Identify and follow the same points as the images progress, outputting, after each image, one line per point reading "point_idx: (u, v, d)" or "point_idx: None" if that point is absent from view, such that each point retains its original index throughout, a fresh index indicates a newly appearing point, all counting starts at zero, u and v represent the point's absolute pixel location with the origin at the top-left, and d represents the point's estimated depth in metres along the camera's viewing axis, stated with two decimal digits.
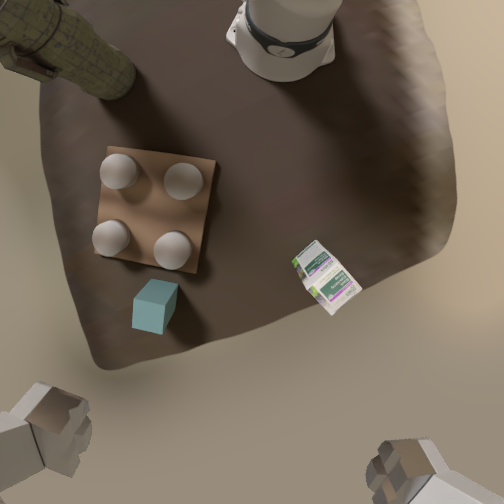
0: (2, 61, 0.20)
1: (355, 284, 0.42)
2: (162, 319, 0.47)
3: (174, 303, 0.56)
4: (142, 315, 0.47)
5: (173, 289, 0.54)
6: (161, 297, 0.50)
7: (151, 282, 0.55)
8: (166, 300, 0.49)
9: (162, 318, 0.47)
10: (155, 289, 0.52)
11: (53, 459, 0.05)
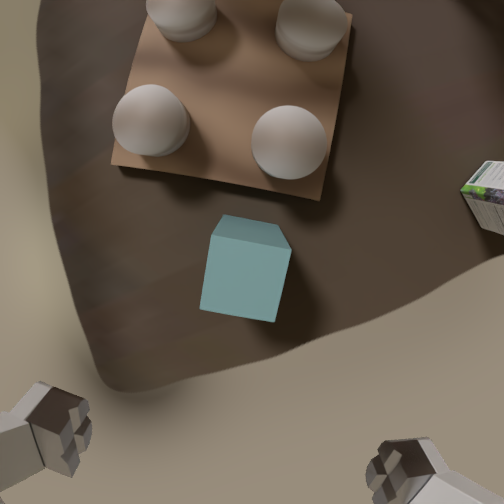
0: None
1: None
2: (280, 285, 0.21)
3: None
4: (230, 278, 0.21)
5: (278, 230, 0.27)
6: (268, 237, 0.23)
7: (228, 218, 0.28)
8: (284, 242, 0.22)
9: (280, 282, 0.21)
10: (245, 226, 0.25)
11: (53, 459, 0.05)
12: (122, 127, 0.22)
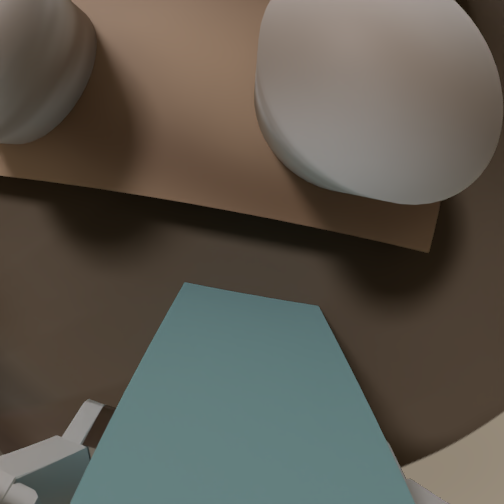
0: None
1: None
2: None
3: None
4: None
5: (330, 343, 0.09)
6: (328, 446, 0.05)
7: (192, 302, 0.10)
8: (391, 478, 0.04)
9: None
10: (236, 359, 0.07)
11: None
12: None
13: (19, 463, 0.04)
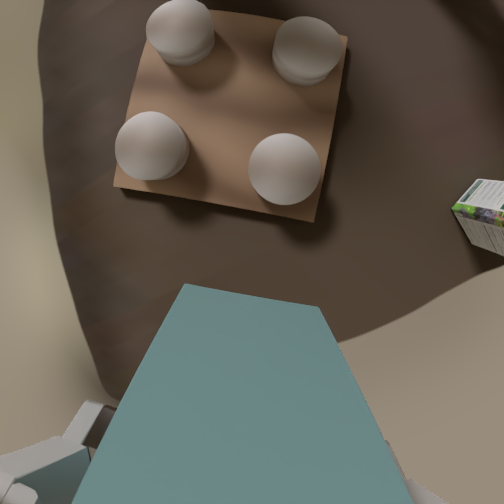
0: None
1: None
2: None
3: None
4: None
5: (330, 344, 0.09)
6: (327, 448, 0.05)
7: (192, 303, 0.10)
8: (390, 479, 0.04)
9: None
10: (236, 360, 0.07)
11: None
12: (124, 153, 0.24)
13: (19, 463, 0.04)
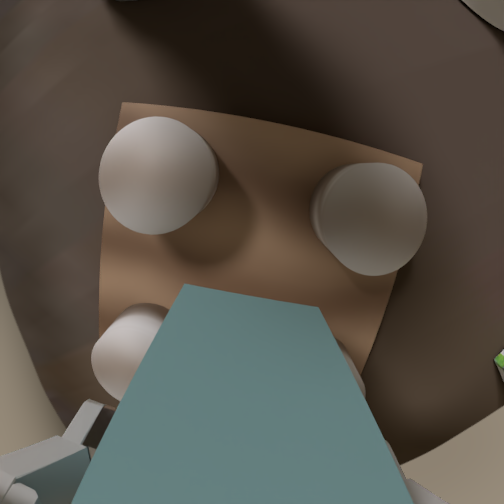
0: None
1: None
2: None
3: None
4: None
5: (330, 345, 0.09)
6: (328, 449, 0.05)
7: (192, 303, 0.10)
8: (390, 480, 0.04)
9: None
10: (236, 361, 0.07)
11: None
12: (107, 376, 0.17)
13: (19, 463, 0.04)
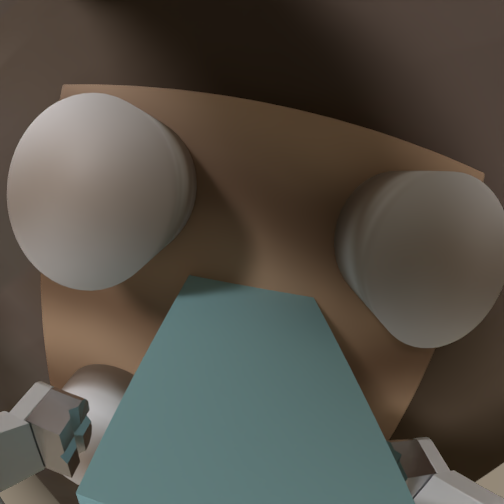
0: None
1: None
2: None
3: None
4: None
5: (324, 329, 0.10)
6: (318, 415, 0.06)
7: (196, 292, 0.11)
8: (376, 443, 0.05)
9: None
10: (238, 341, 0.08)
11: (53, 459, 0.05)
12: None
13: None
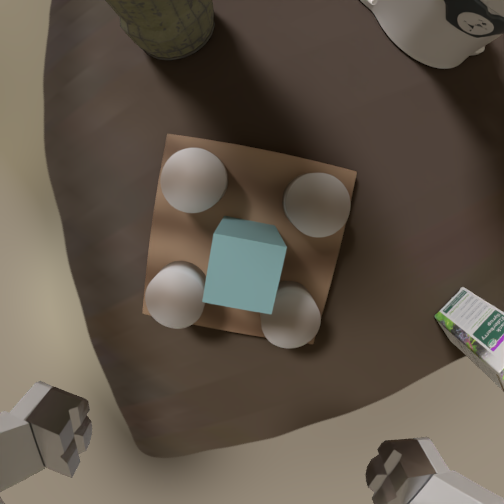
0: None
1: None
2: (276, 280, 0.23)
3: None
4: (231, 273, 0.22)
5: (275, 230, 0.29)
6: (266, 236, 0.25)
7: (228, 218, 0.30)
8: (280, 241, 0.24)
9: (276, 277, 0.23)
10: (244, 226, 0.27)
11: (53, 459, 0.05)
12: (154, 305, 0.29)
13: None
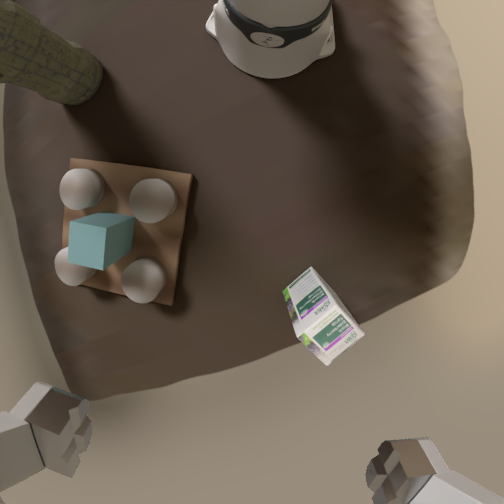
0: None
1: (356, 330, 0.34)
2: (103, 248, 0.34)
3: (128, 240, 0.43)
4: (79, 244, 0.34)
5: (126, 219, 0.41)
6: (106, 222, 0.36)
7: (102, 213, 0.42)
8: (111, 225, 0.36)
9: (103, 247, 0.34)
10: (103, 217, 0.39)
11: (53, 459, 0.05)
12: (60, 270, 0.41)
13: None
